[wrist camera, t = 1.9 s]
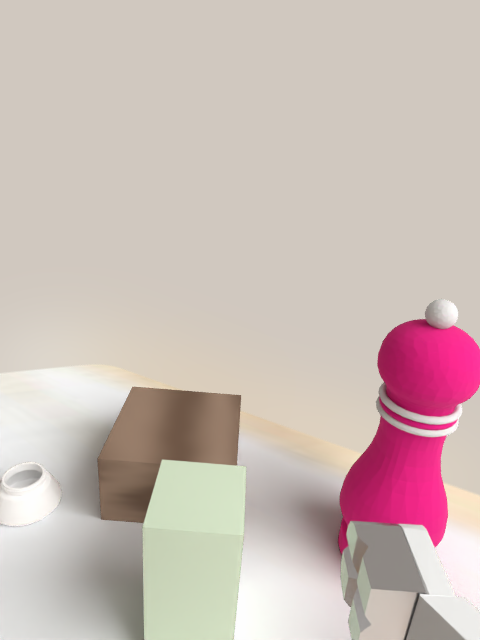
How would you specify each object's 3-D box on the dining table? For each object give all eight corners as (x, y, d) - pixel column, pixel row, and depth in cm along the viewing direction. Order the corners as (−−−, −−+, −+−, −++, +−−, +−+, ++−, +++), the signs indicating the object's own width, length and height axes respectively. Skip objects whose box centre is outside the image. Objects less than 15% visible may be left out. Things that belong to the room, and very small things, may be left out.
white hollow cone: (-18, 532, 34) (54, 527, 34) (-24, 501, 32) (51, 497, 33) (3, 483, 38) (67, 480, 39) (-2, 455, 37) (64, 452, 38)
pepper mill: (406, 513, 38) (470, 283, 30) (450, 595, 31) (546, 327, 24) (321, 513, 37) (364, 278, 30) (347, 597, 31) (411, 323, 23)
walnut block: (101, 521, 35) (97, 458, 33) (133, 440, 45) (132, 386, 42) (231, 532, 35) (236, 469, 33) (236, 448, 45) (241, 395, 42)
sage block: (144, 656, 26) (142, 527, 23) (161, 578, 31) (162, 459, 27) (230, 664, 26) (243, 535, 23) (235, 584, 31) (246, 466, 27)
